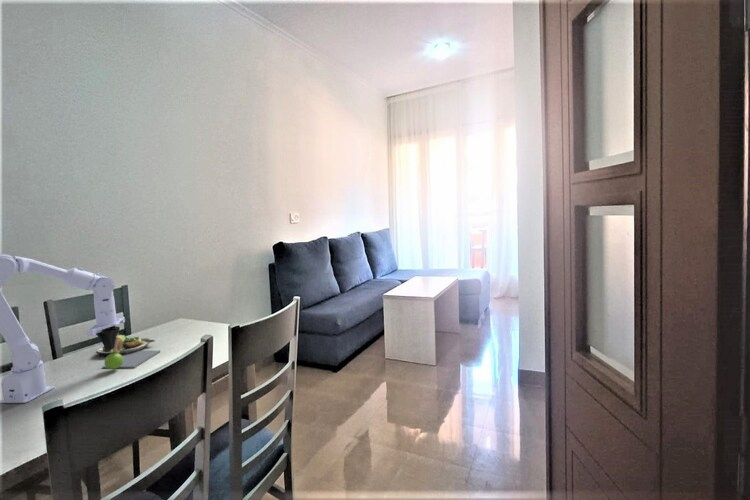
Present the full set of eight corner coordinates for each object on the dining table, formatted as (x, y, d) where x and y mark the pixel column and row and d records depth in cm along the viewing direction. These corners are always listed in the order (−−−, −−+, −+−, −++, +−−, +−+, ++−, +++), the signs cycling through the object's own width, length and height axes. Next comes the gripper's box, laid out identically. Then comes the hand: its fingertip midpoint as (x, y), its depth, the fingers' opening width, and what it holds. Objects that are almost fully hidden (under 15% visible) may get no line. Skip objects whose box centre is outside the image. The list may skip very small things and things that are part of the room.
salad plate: (163, 338, 162) (162, 328, 161) (144, 352, 144) (143, 341, 144) (116, 343, 159) (115, 332, 159) (90, 358, 142) (88, 346, 141)
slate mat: (134, 368, 132) (134, 366, 132) (102, 368, 133) (102, 366, 133) (160, 351, 147) (160, 350, 147) (131, 352, 148) (131, 350, 148)
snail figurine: (98, 368, 126) (108, 332, 130) (106, 369, 131) (114, 334, 136) (116, 368, 127) (125, 333, 131) (123, 369, 133) (131, 335, 137)
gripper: (100, 316, 120) (104, 357, 121) (131, 305, 134) (135, 341, 136) (79, 317, 120) (84, 357, 121) (112, 305, 134) (116, 341, 136)
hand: (109, 348), depth 129 cm, fingers closed
